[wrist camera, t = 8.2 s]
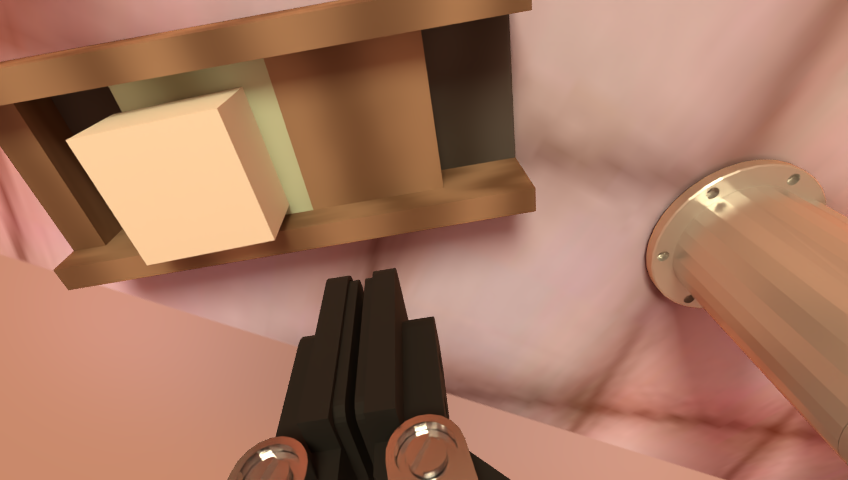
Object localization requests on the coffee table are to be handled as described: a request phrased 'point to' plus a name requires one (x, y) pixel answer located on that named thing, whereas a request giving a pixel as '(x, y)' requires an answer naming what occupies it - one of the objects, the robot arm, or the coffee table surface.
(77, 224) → the box
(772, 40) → the coffee table surface
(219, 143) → the cream block
